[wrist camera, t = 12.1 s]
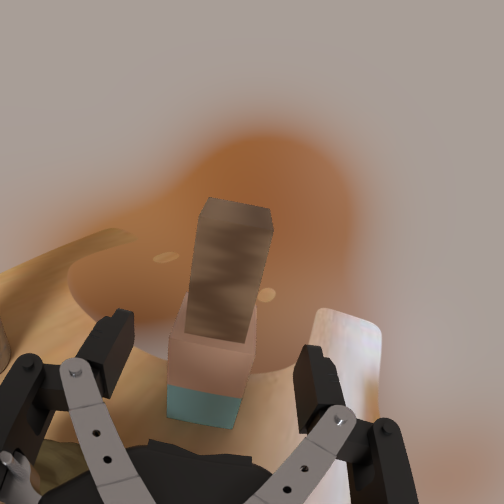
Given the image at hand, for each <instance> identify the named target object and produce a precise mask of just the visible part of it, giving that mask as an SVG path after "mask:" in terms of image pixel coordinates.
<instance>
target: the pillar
mask: <svg viewBox="0 0 504 504" xmlns="http://www.w3.org/2000/svg"><path fill="white" fill-rule="evenodd" d="M273 232H274V229H273V224H272V218H271V213H270V209H268V208H263V207H258V206H253V205H248V204H243V203H238V202H233V201H228V200H222V199H216V198H212V197H209V198H208V200H207V202H206V204H205V206H204V208H203V209H202V211H201V213H200V215H199V219H198V225H197V232H196V239H195V246H194V253H193V261H192V268H191V276H190V284H189V292H188V301H187V310H186V319H185V329H184V333H187V334H192V335H197V336H202V337H208V338H213V339H219V340H224V341H230V342H236V343H242V344H245V340H246V336H247V333H248V329H249V325H250V321H251V317H252V314H253V310H254V306H255V302H256V298H257V294H258V291H259V286H260V283H261V279H262V275H263V271H264V267H265V263H266V259H267V255H268V252H269V248H270V244H271V240H272V236H273Z"/></svg>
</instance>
